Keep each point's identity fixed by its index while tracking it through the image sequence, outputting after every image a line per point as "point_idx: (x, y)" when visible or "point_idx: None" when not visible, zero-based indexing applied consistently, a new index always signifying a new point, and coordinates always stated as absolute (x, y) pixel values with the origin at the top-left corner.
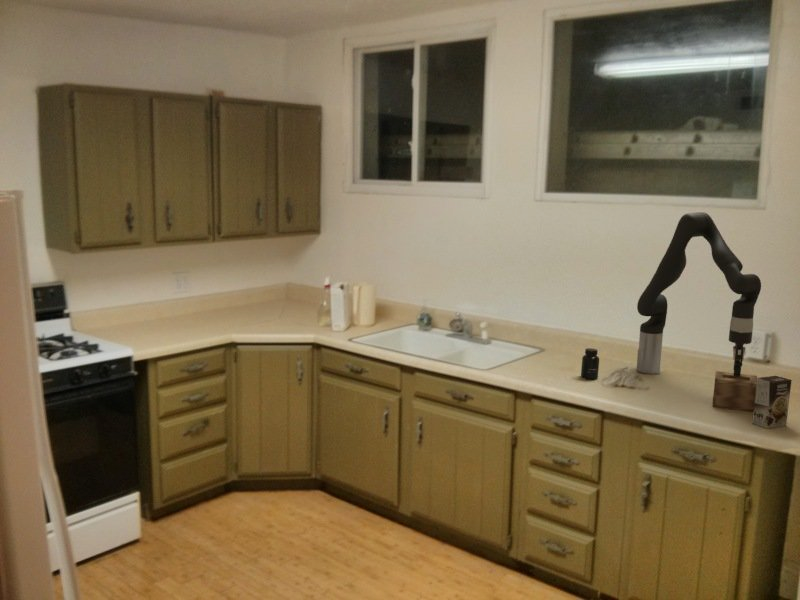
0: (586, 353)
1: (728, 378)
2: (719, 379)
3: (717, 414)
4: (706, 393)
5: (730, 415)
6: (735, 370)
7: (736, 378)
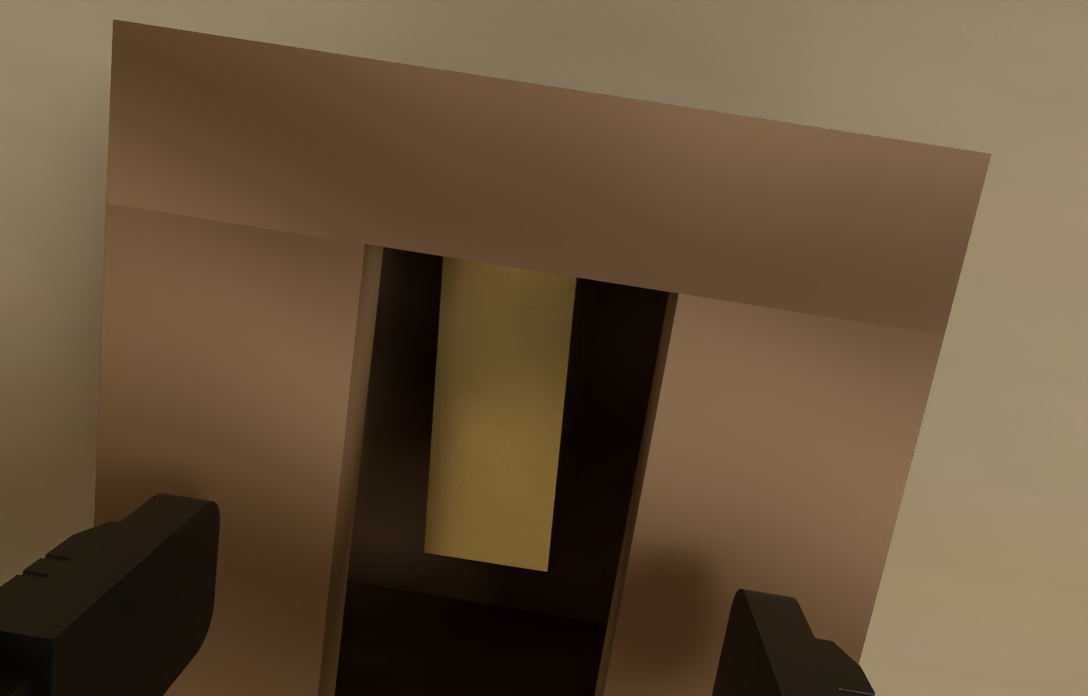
0: None
1: (305, 364)
2: (115, 127)
3: (9, 107)
4: (1015, 87)
5: (39, 269)
6: (1, 586)
7: (623, 563)
